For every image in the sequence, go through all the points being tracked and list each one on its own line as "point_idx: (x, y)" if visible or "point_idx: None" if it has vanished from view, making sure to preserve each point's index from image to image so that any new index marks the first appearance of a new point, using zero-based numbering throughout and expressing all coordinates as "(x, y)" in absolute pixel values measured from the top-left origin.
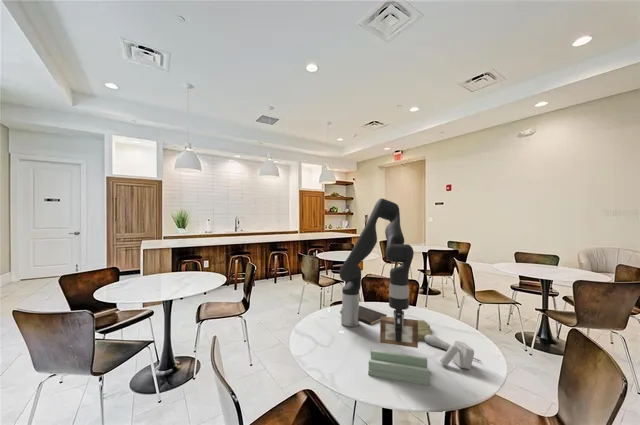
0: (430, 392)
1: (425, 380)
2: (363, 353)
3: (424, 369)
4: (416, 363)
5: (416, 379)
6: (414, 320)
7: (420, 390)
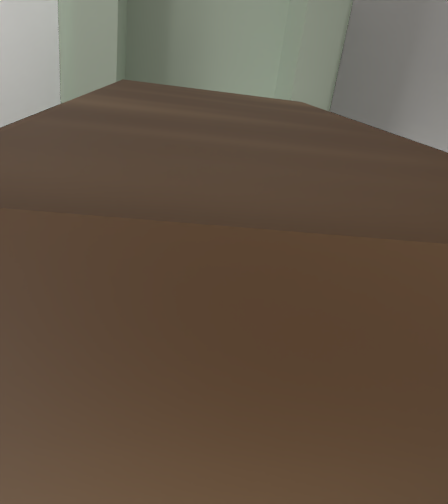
0: (420, 15)
1: (344, 32)
2: None
3: (327, 28)
4: (122, 70)
5: (329, 107)
6: (57, 430)
7: (398, 89)
